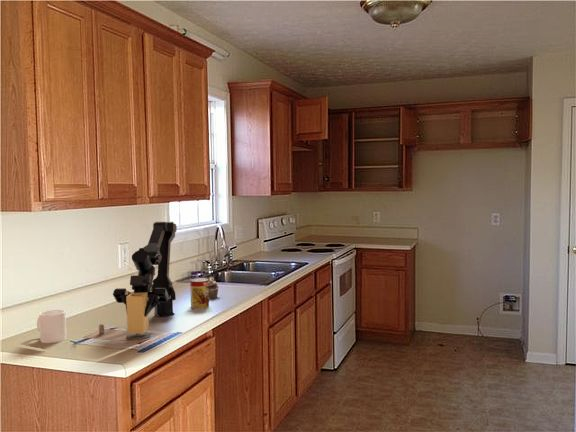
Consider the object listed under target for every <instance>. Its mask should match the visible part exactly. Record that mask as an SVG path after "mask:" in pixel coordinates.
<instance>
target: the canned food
mask: <svg viewBox="0 0 576 432" xmlns="http://www.w3.org/2000/svg"><path fill="white" fill-rule="evenodd" d="M206 278H207V277H206ZM206 278H203V277H196V278H191V279H190V280H189V286H190V291H189V292H190V308H191V309H197V310H198V309H206V308H209V306H210V299H209V291H208V279H206Z"/></svg>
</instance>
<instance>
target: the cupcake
mask: <svg viewBox="0 0 576 432" xmlns="http://www.w3.org/2000/svg"><path fill="white" fill-rule="evenodd" d="M202 278H206V279H208V291H209V300H214V299H217V298H218V293H219V286H218V284H217V281H216V280H215V278H214V276H212V275H210V276H209V277H208V276H207V277H205V276H202Z"/></svg>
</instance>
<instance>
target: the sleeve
mask: <svg viewBox="0 0 576 432" xmlns="http://www.w3.org/2000/svg"><path fill="white" fill-rule="evenodd" d="M126 301H127V312H126V325H127V330H126V331H128V333H134V334H144V333H145V332H148V330H149V328H150V325H149V314H148V315H147V316H146V317H145V316H144V314H145V309H146V306H147V302H148V293H131V294H129V295H128V296H127V297H126Z"/></svg>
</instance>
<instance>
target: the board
mask: <svg viewBox="0 0 576 432" xmlns="http://www.w3.org/2000/svg"><path fill="white" fill-rule="evenodd" d="M156 334H157V332H151V331H146V332H145V333H144V334H134V333H128V330H121V329H108V328H105V324H104V323H101V324H99V325H98V330H97V331H94V332H92V333H89V334H87V335H84V336H82V338H84V339H94V340H95V339H97V340H106V341H107V340H109V341H120V342H121V341H122V342H123V341H124V342H136V344H137V345H142V344H143V343H145V342H147V341H148V340H149V341H150V337H152V336H154V335H156Z"/></svg>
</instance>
